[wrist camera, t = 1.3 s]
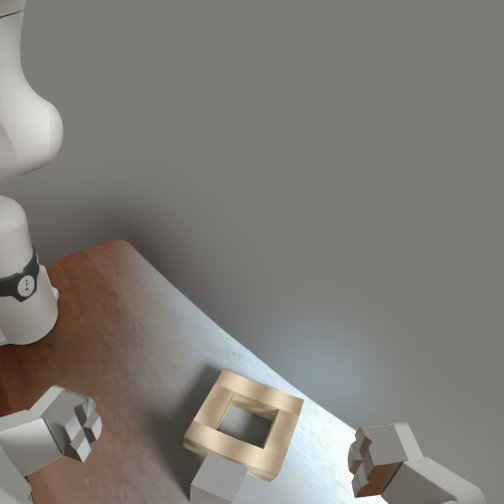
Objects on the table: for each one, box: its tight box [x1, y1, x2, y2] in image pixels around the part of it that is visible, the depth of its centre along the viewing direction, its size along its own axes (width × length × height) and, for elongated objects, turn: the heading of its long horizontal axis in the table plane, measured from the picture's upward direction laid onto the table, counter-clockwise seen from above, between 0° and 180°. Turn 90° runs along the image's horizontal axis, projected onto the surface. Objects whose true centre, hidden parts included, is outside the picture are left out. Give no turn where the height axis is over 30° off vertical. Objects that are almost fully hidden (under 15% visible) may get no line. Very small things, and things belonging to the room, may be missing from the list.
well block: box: [183, 369, 304, 482], centre depth 38 cm, size 13×13×4 cm
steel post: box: [190, 452, 248, 504], centre depth 25 cm, size 4×4×14 cm
